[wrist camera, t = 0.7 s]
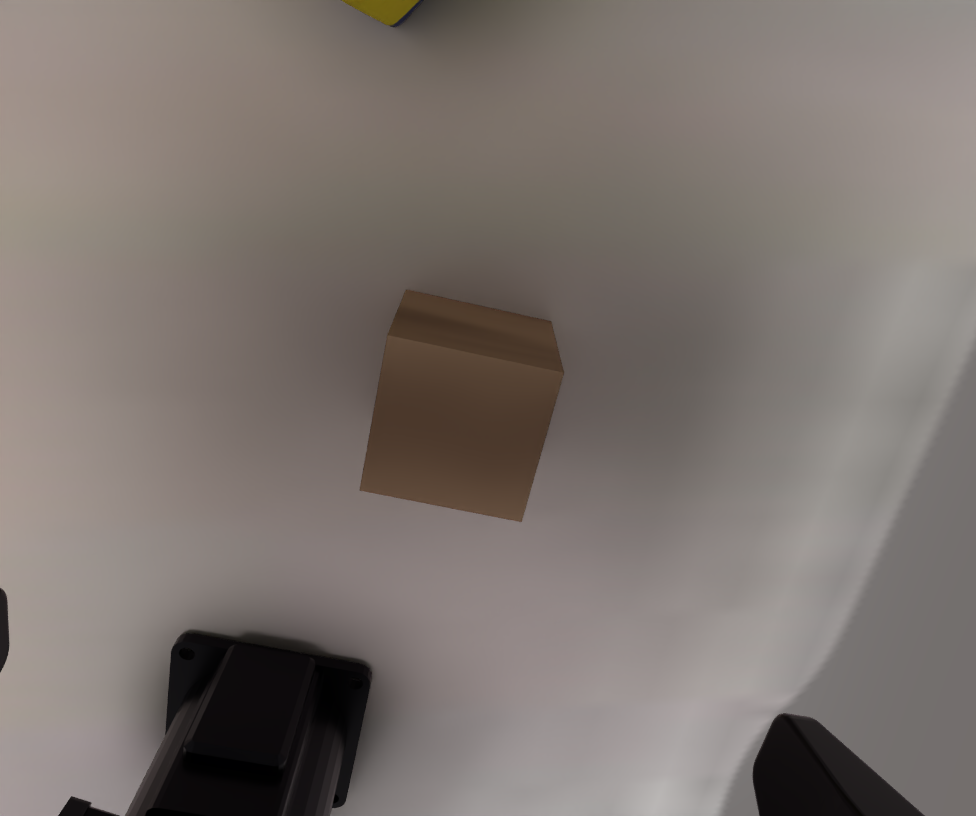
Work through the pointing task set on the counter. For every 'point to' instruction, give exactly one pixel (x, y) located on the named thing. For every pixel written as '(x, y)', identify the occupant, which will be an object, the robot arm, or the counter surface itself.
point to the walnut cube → (462, 406)
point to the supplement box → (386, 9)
